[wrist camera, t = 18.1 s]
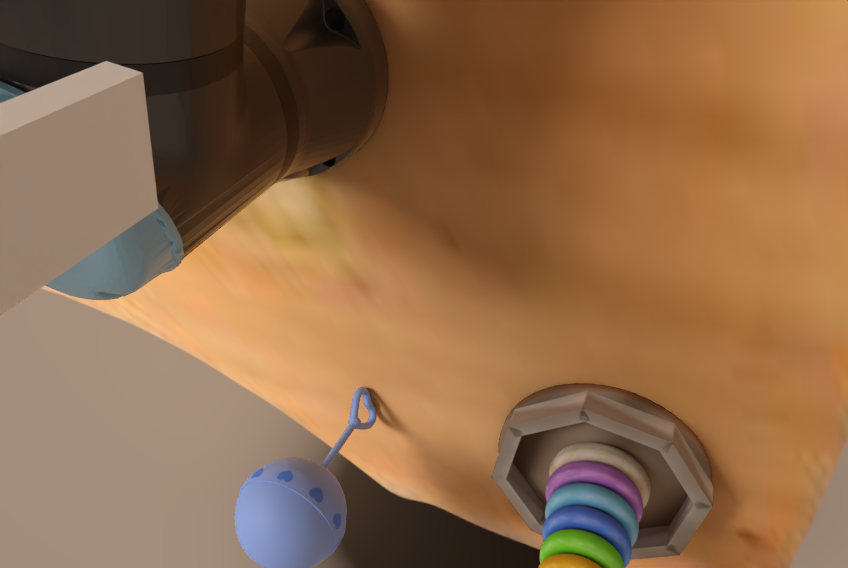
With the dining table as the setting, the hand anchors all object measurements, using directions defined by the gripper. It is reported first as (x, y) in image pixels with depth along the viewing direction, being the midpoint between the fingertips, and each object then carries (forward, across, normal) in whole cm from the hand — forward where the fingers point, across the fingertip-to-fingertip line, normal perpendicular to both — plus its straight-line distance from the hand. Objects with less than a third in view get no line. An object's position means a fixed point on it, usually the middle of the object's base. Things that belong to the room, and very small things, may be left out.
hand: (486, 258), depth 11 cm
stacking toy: (+31, +8, -38) cm, 50 cm away
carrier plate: (+32, +8, -38) cm, 50 cm away
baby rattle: (+32, -13, -41) cm, 54 cm away
